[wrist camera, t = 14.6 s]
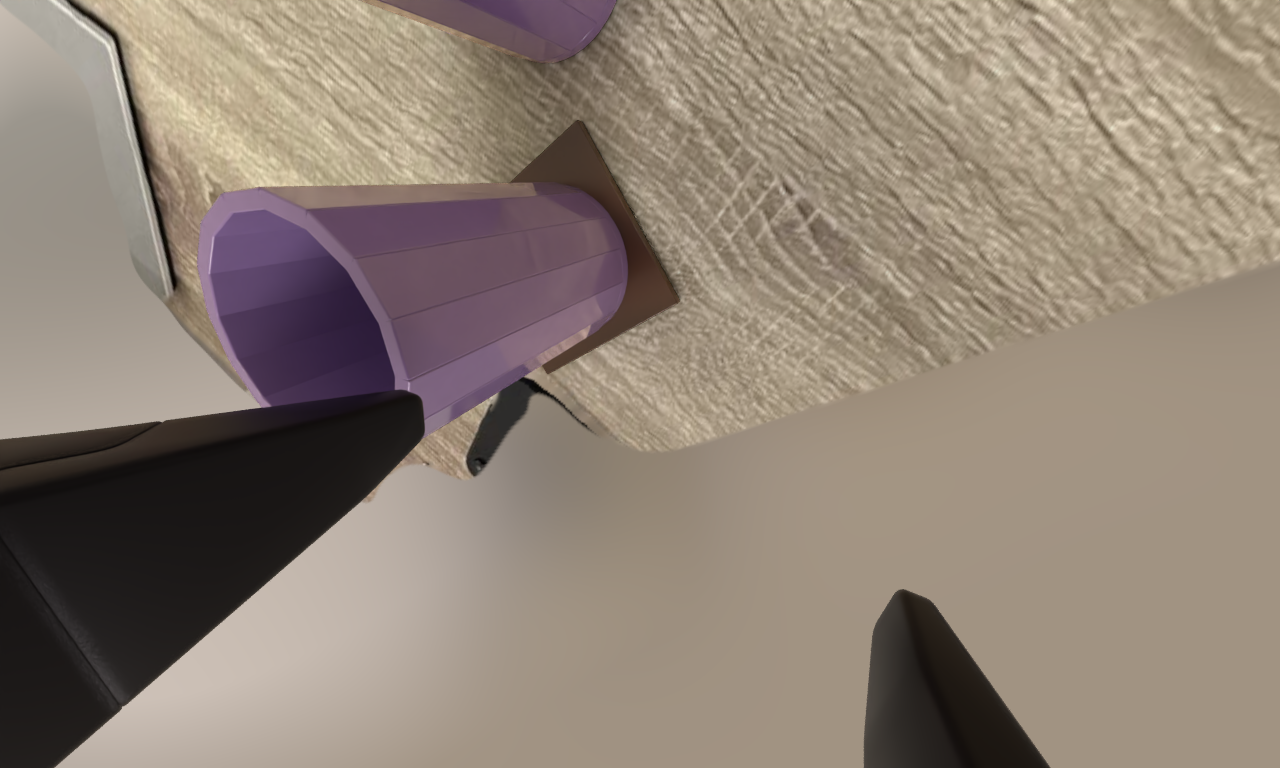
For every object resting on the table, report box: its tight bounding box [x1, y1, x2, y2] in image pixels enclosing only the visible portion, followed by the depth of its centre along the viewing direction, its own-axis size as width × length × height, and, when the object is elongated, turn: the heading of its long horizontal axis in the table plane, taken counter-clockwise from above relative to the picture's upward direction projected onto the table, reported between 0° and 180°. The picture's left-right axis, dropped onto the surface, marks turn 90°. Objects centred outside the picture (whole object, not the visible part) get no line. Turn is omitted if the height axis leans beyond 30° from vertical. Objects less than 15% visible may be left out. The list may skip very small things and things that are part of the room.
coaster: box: [510, 120, 680, 374], centre depth 21 cm, size 8×8×1 cm
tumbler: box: [197, 182, 628, 439], centre depth 16 cm, size 7×7×12 cm
